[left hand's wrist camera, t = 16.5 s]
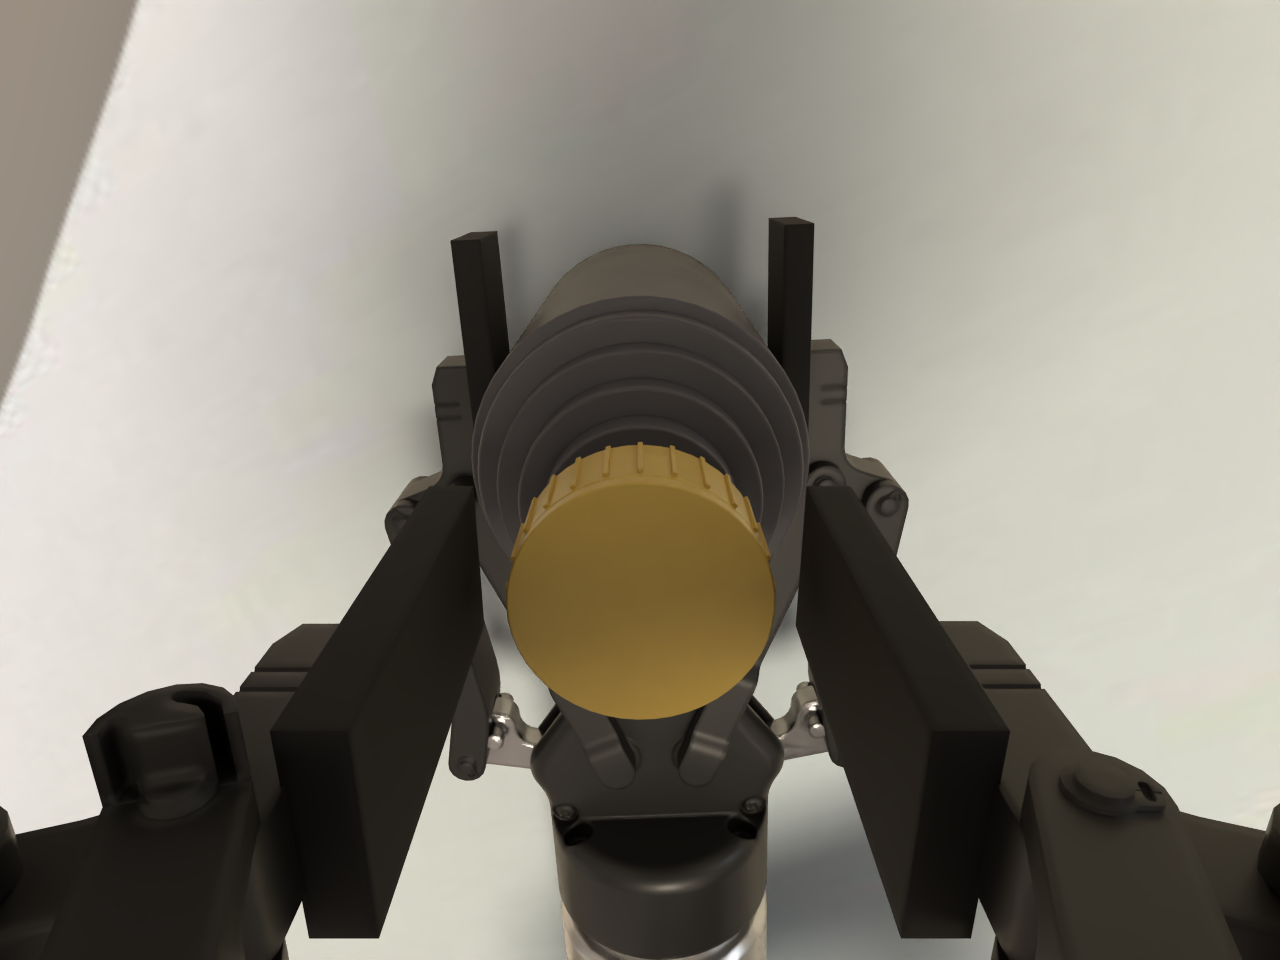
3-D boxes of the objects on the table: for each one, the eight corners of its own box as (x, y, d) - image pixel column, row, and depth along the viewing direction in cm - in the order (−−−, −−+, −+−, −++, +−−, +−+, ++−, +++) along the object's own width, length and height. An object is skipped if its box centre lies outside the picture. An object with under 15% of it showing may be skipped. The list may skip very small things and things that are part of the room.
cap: (810, 579, 15) (831, 634, 13) (616, 700, 16) (613, 765, 14) (669, 390, 14) (674, 423, 12) (468, 532, 15) (444, 582, 13)
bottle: (521, 435, 31) (384, 748, 15) (549, 225, 29) (423, 313, 12) (721, 470, 32) (812, 811, 15) (768, 266, 29) (942, 405, 12)
